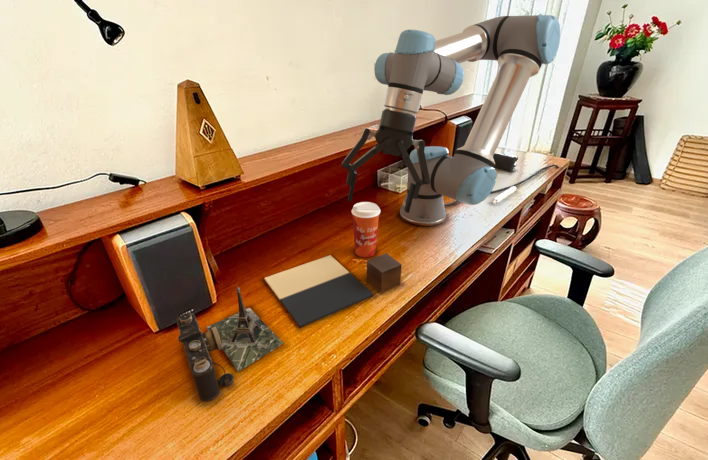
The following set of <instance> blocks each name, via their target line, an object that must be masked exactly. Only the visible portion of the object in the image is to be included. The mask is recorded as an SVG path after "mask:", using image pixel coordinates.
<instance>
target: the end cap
mask: <svg viewBox="0 0 708 460" xmlns="http://www.w3.org/2000/svg"><path fill="white" fill-rule="evenodd" d="M493 159H494V161H495V166H494V169H495V170H500V171H504V172H508V173H513V172H514V171H516V167H517V164H518V163H516V162H517V161H518V160H519V157H518V156H516V155H506V154H505V153H502V152H499V153H496V152H495V153H494V155H493Z"/></svg>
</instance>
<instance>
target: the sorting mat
mask: <svg viewBox="0 0 708 460" xmlns="http://www.w3.org/2000/svg"><path fill="white" fill-rule="evenodd" d="M263 279H264V281H265V283H266V284H267V285H268V286H269V288H270V289H271V291H272V292H273V294H274V295H275V296H276V297H277V299H278V300H279V302H280V303H281V304H282V306H283V307H284V308H285V310H286V311H287V312H288V313H289V315H290V316H291V318H292V319H293V320H294V322H295V323H296V324H297V326H298V327H299V328H300V329H301V328H304V327H305V326H307V325H310V324H312V323H315V322H317V321H319V320H321V319H323V318H326V317H328V316H330V315H333V314H335V313H337V312H339V311H342V310H344V309H346V308H348V307H351V306H354V305H356V304H359V303H360V302H362V301H365V300H367V299H370V298H371V297H374V292H372V291H371V290H370V289H368V288H367V287H366V286H365V285H364V284H363V283H362V282H361V281H360V280H359V279H357V278H356V277H355V276H354V275H353V274H352V273H351V272H350V271H348V269H346V268H345V267H344V266H343V265H342V264H341V263H339V261H338V260H336V259H335V258H334V257H333V256H332V255H331V254H330V255H326V256H323V257H321V258H318V259H315V260H312V261H309V262H306V263H304V264H300V265H297V266H295V267H292V268H289V269H286V270H283V271H280V272H276V273H274V274H271V275H268V276H266V277H264V278H263Z"/></svg>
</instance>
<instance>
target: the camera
mask: <svg viewBox="0 0 708 460" xmlns="http://www.w3.org/2000/svg"><path fill="white" fill-rule="evenodd" d="M176 325H177V328H178V332H179V335H178V336H177V339H178V342H179V343H182V346H183V349H184V353H185V356H186V359H187V362H188V365H189V369H190V372H191V375H192V378H193V381H194V384H195V387H196V391H197V394H198V398H199V399H200V401H201V402H205V403H206V402H211V401H213V400H215V399H216V398H218V396H219V395H220V392H221V389H220V386H221V387H222V388H227V387H229V386H231V385H232V384H233V383H234V379H235V378H234V375H233V374H232V373H230V372H229V373H226V370H225V367H223V366H222V365H221V364H220V363H219V364H218V363H216V362H214V361H213V360H212V358H211V355H210V353H211V352H213V351H216V350H217V352H218V351H221V350H223V349H222V340H221V336H219V335H220V334H219V331H217V329H216V327H213V328H211V330H210V331H208V330H207V331H205V332H202V330H201V327H200V325H199V322H198V319H197V317H196V315H195V314H194V313H193V312H185V313H182V314H181V315H178V317H177V318H176ZM214 365H217V366H219V367H220V368H221V369H222V370H223V373H224V374H222V375H221V376H219V378H218V379H217V375H216V368H215V366H214Z"/></svg>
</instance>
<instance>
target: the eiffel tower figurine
mask: <svg viewBox="0 0 708 460" xmlns="http://www.w3.org/2000/svg"><path fill="white" fill-rule="evenodd" d="M235 292H236V295H237V301H238V303H237V304H238V312H237V313H235V314H232V315H230V316H228V317H226V318H224V319H221V320H219V321H217V322H215V323H213V324H210V325H208V326H206V329H207V332H208V331H210V330H211V328H213V327H216V329H217V331H219V334H220V335H219V336H221V340H222V349H221V350H222V351H223V353H224V354H225V355H226V357H227V358H228V359H229V361H230V362H231V364H232V366H233V367H234V368H235V370H236V371H237V372H238V373H239V372H240V371H242V370H244V369H245V368H247V367H249V366H251V365H252V364H254V363H255V362H257V361H258V360H260V359H262V358H263V357H265V356H267V355H268V354H269V353H271V352H273V351H274V350H277V348H279V347H280V346H282V345H284V344H285V343H284V342H283V341H282V339H280V337H278V335H277V334H276V333H274V331H273V330H272V329H271V328H270V327H269V326H268V325H267V324H266V323H265V322H264V321H263V319H261V318H260V317H259V316H258V314H256V313H255V311H254V310H253V309H251V308H250V307H248V308H246V307H245V304H244V300H243V297H242V294H241V289H240V287H239V286H238V285H236V290H235Z"/></svg>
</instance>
